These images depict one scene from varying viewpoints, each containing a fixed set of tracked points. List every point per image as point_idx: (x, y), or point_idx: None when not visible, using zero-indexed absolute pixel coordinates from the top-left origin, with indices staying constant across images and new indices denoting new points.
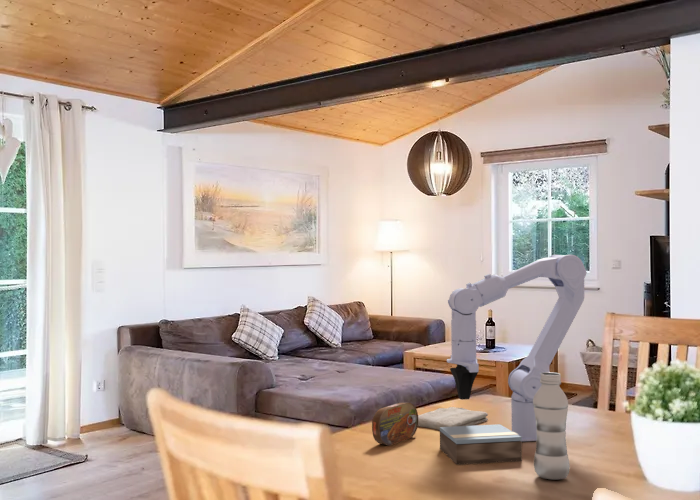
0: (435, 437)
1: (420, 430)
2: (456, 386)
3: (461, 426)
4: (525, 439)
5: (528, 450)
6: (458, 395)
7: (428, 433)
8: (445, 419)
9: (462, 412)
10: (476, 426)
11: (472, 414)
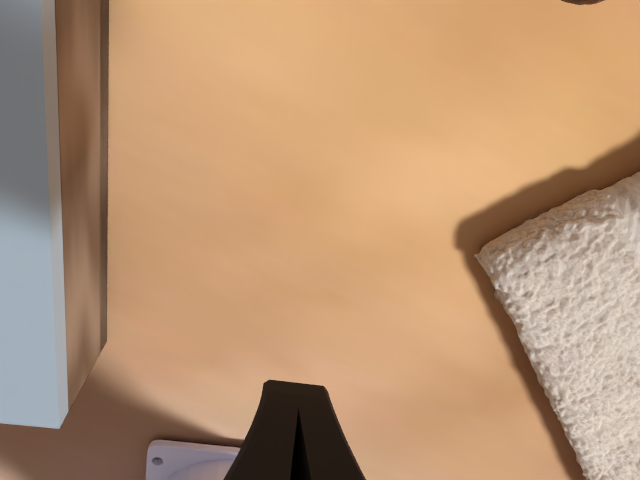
0: (414, 93)
1: (629, 80)
2: (359, 475)
3: (35, 170)
4: (147, 473)
5: None
6: (324, 401)
7: (530, 96)
8: (610, 281)
9: None
10: (17, 273)
11: (622, 459)
